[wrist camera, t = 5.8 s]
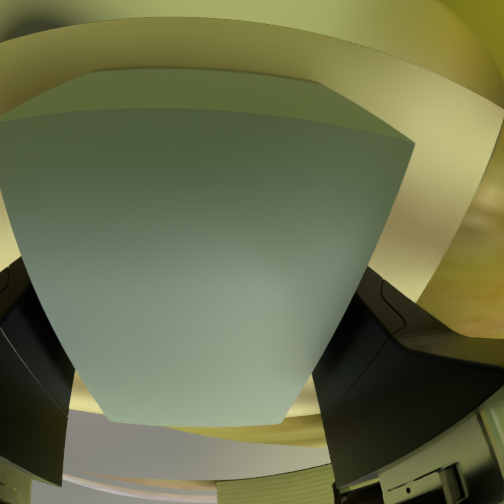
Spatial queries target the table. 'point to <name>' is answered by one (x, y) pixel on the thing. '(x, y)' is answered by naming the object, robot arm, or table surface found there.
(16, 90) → the maple board
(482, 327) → the table surface
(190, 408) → the block
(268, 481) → the stack of papers
